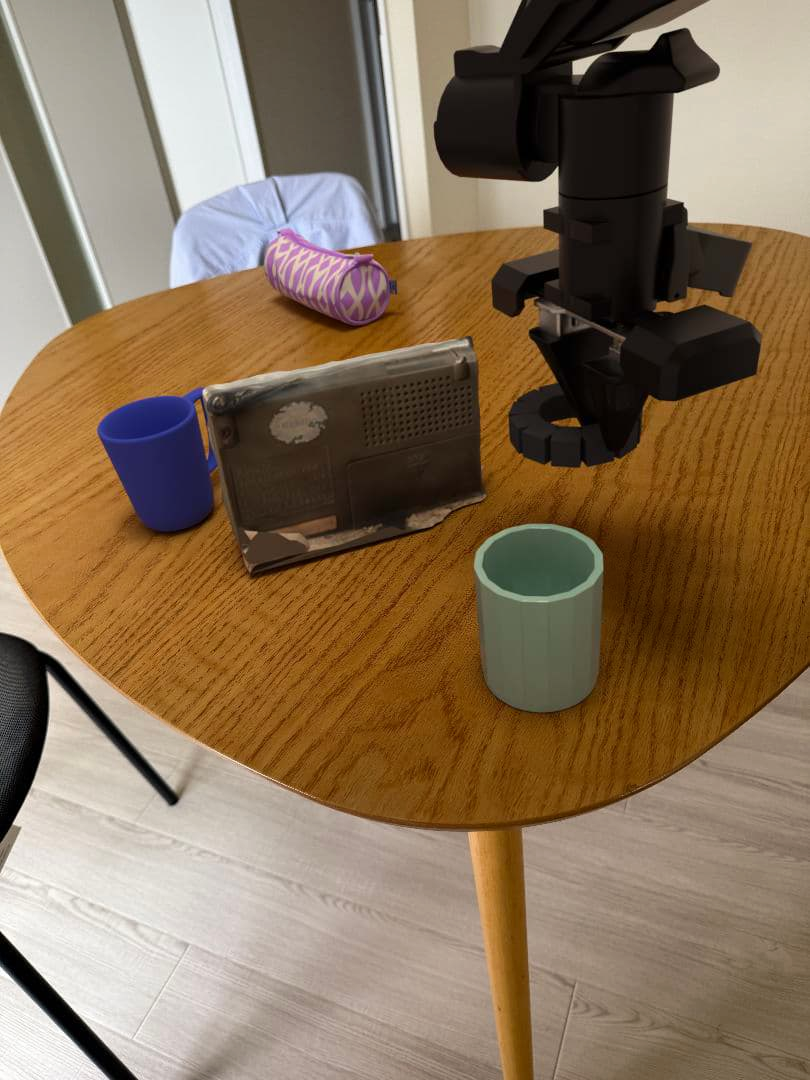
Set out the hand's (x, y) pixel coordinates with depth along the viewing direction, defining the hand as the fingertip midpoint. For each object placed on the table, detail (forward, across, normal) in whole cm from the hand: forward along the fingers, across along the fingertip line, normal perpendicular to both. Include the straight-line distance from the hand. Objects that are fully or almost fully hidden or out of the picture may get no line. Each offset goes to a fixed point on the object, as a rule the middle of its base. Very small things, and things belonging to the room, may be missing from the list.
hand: (604, 441), depth 51 cm
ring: (+1, +3, 0) cm, 4 cm away
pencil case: (+11, +70, -2) cm, 70 cm away
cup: (+11, -6, +9) cm, 15 cm away
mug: (+11, +28, +26) cm, 39 cm away
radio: (+11, +17, +12) cm, 24 cm away
